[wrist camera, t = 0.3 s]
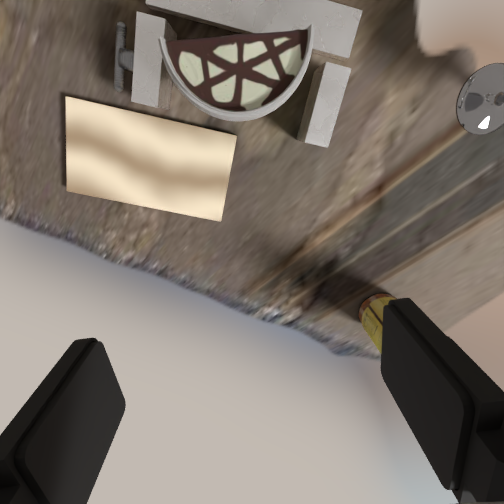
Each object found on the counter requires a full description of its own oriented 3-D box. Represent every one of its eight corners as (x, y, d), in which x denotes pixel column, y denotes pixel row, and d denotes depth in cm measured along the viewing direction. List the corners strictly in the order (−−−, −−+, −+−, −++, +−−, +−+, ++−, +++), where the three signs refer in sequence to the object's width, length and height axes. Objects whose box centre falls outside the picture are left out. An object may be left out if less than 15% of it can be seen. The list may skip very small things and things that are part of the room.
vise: (130, -50, 28) (108, -84, 23) (357, 15, 30) (377, -4, 26) (122, 98, 33) (103, 94, 28) (319, 145, 35) (331, 148, 30)
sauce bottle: (376, 334, 46) (465, 474, 27) (347, 312, 44) (422, 446, 26) (410, 305, 44) (530, 434, 26) (382, 280, 42) (488, 401, 24)
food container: (187, 126, 34) (167, 127, 25) (178, 62, 32) (151, 36, 22) (298, 117, 34) (319, 114, 25) (297, 52, 32) (320, 22, 22)
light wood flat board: (70, 97, 32) (65, 96, 32) (236, 135, 34) (236, 135, 34) (71, 189, 36) (66, 190, 35) (221, 219, 38) (220, 221, 37)
